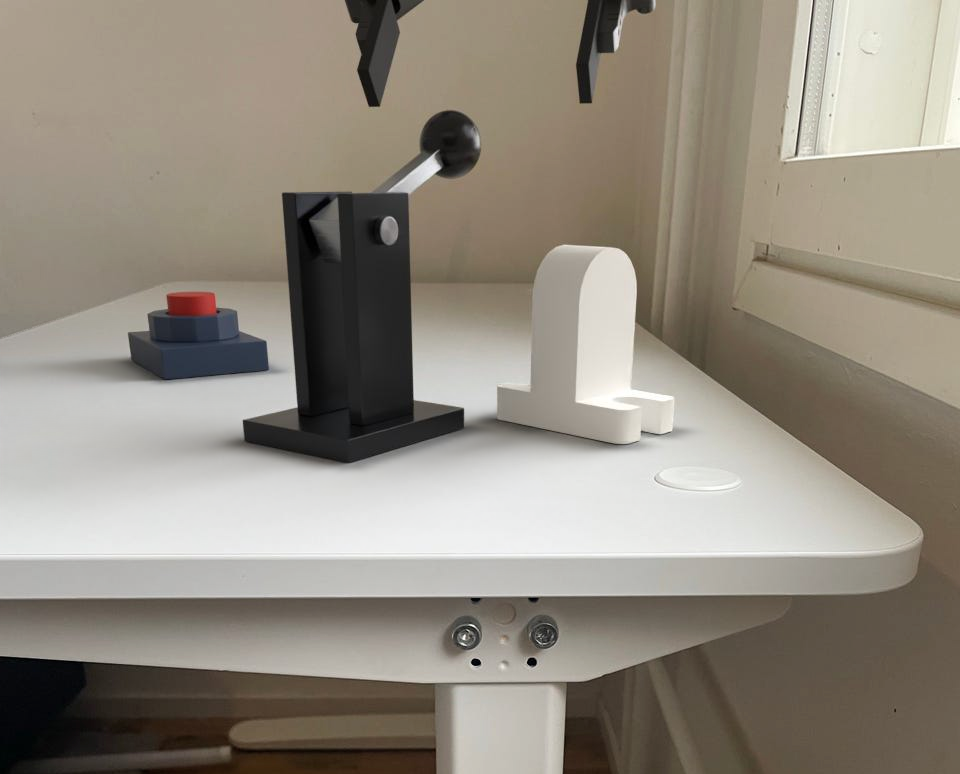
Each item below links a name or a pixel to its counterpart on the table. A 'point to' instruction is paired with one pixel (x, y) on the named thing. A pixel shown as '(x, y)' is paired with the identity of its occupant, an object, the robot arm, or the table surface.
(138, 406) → the table surface
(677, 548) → the table surface
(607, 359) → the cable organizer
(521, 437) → the table surface
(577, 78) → the robot arm
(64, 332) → the table surface
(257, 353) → the switch box
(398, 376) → the bracket
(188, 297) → the stop button
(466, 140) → the lever
